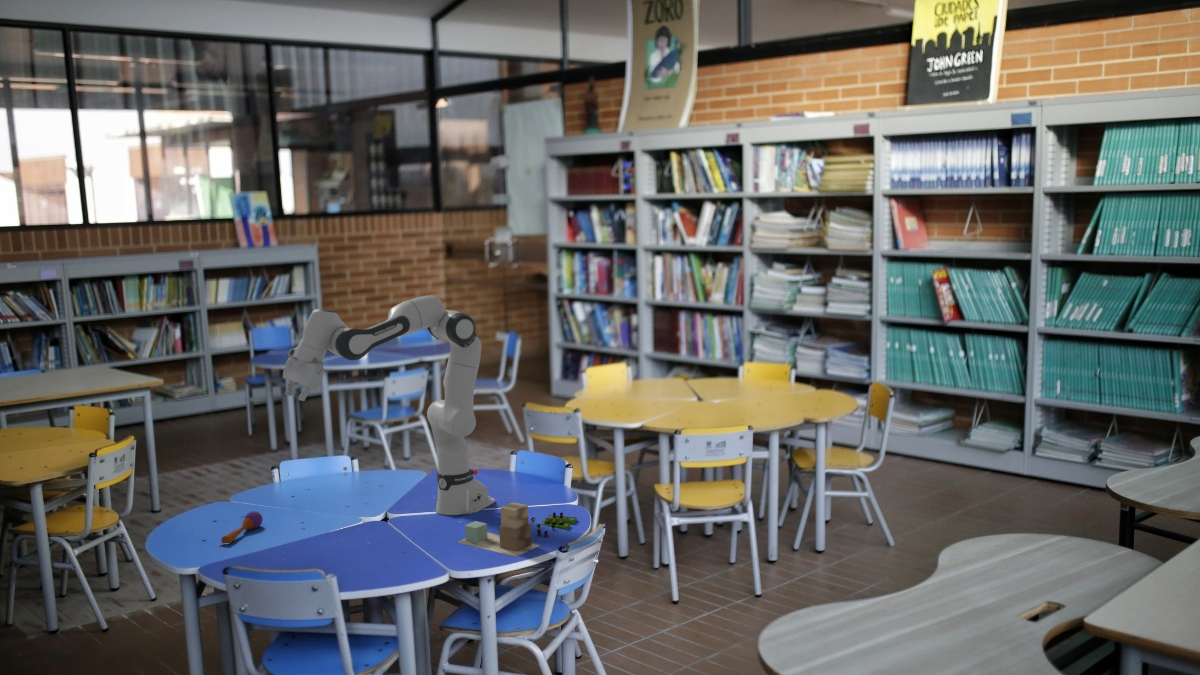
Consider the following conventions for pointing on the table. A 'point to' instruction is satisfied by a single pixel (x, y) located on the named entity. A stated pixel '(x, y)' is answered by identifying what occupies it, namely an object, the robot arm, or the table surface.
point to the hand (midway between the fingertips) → (294, 397)
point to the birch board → (497, 545)
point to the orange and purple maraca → (245, 526)
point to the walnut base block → (515, 537)
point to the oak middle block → (514, 515)
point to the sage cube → (476, 532)
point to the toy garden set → (555, 523)
